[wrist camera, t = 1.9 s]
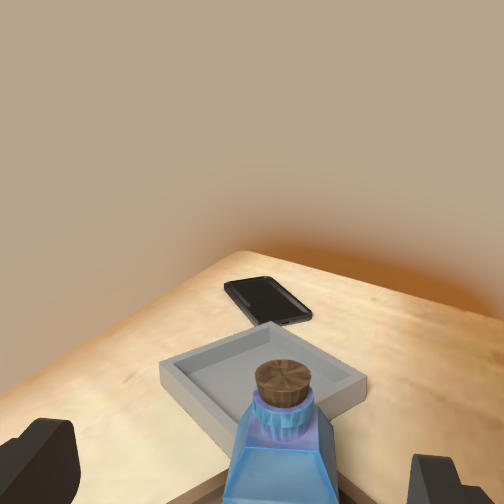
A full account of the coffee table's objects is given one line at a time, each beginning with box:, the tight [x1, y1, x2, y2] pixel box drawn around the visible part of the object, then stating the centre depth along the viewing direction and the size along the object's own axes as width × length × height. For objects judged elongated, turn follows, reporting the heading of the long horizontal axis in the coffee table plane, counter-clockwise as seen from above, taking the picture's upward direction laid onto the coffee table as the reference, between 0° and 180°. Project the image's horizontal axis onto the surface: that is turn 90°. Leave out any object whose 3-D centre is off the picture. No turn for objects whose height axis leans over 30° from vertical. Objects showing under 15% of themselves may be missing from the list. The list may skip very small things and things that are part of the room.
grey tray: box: [159, 321, 367, 459], centre depth 43 cm, size 14×14×2 cm
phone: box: [224, 276, 312, 327], centre depth 63 cm, size 8×1×15 cm
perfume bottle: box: [223, 359, 339, 504], centre depth 27 cm, size 6×6×12 cm
